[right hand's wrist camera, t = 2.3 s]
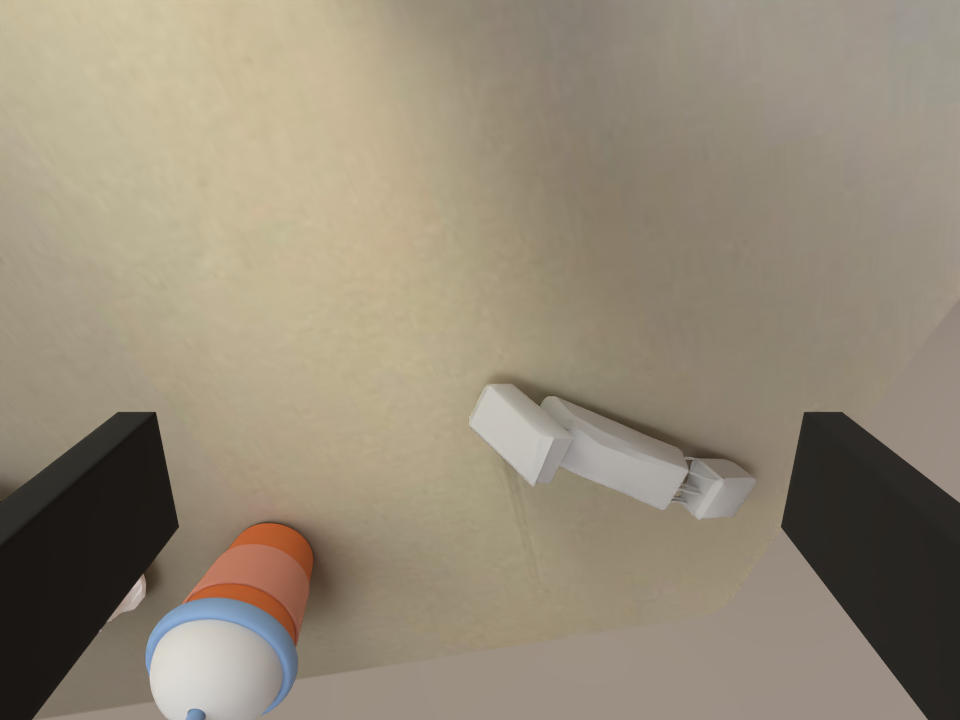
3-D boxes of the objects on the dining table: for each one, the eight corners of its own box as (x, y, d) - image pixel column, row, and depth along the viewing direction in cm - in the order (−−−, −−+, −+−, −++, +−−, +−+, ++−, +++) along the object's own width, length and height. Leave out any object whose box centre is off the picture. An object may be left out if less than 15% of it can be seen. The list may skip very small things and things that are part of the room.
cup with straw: (333, 605, 49) (255, 857, 32) (218, 598, 49) (79, 847, 32) (333, 509, 46) (246, 731, 29) (210, 500, 46) (50, 720, 29)
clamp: (465, 416, 42) (472, 472, 36) (485, 370, 41) (496, 419, 35) (709, 492, 47) (753, 553, 41) (734, 452, 46) (784, 508, 39)
